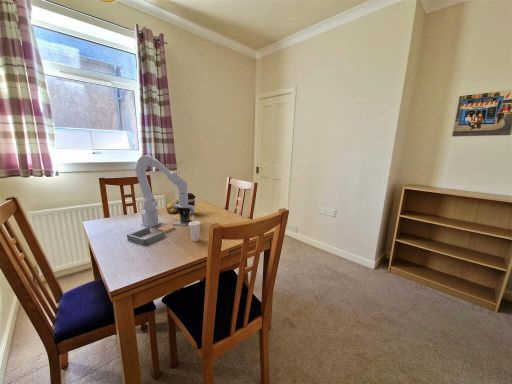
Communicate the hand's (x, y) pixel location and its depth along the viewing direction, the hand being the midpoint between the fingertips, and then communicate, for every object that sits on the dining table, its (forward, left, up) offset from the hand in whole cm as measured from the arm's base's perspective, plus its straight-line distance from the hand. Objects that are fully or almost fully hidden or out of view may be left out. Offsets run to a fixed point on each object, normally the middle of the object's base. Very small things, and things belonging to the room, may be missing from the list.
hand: (184, 218), depth 142 cm
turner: (0, -1, -2) cm, 3 cm away
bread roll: (-24, +13, -3) cm, 27 cm away
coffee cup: (-10, +15, -3) cm, 18 cm away
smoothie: (+25, -18, -3) cm, 31 cm away
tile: (0, -16, -3) cm, 16 cm away
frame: (0, -28, -2) cm, 28 cm away
